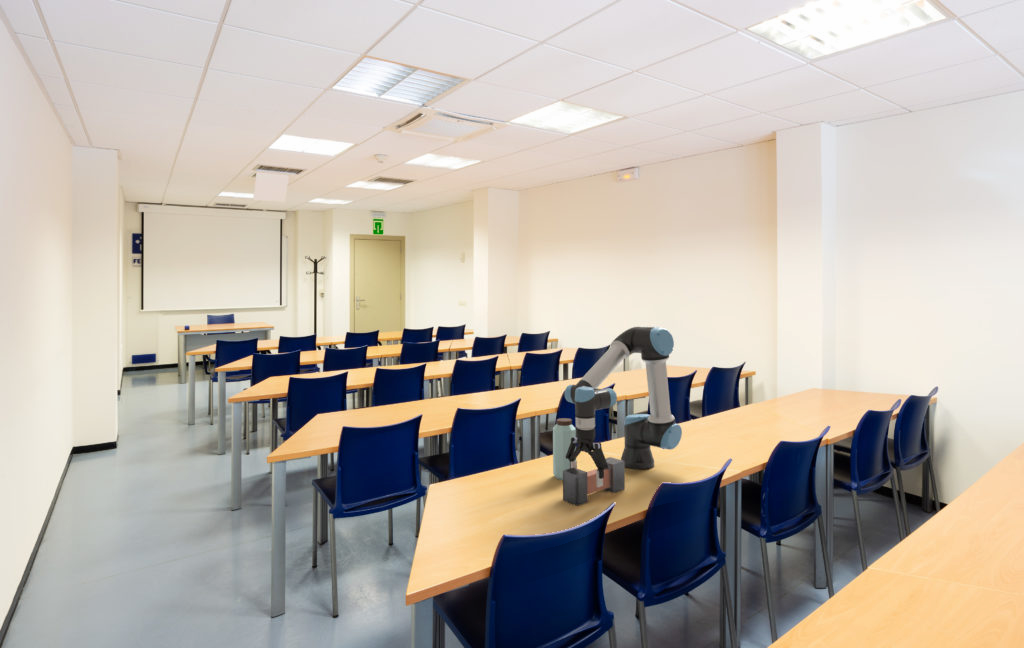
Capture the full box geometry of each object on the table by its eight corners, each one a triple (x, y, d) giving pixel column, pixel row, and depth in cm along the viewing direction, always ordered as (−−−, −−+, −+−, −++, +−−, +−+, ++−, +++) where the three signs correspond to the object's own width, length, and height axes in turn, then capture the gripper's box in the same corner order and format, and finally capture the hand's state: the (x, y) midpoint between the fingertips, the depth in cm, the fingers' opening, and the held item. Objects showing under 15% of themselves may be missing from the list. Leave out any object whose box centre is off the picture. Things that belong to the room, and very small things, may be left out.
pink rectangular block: (602, 484, 220) (602, 466, 220) (609, 487, 217) (609, 469, 217) (570, 494, 209) (570, 476, 208) (577, 497, 206) (577, 478, 205)
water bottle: (575, 481, 230) (574, 422, 229) (551, 480, 232) (551, 422, 231) (577, 474, 240) (576, 417, 239) (554, 472, 242) (554, 417, 241)
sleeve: (610, 484, 226) (610, 457, 225) (624, 489, 220) (624, 461, 219) (599, 488, 221) (598, 460, 221) (613, 493, 216) (612, 464, 215)
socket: (573, 496, 212) (573, 467, 212) (587, 502, 207) (587, 472, 206) (563, 500, 209) (562, 470, 208) (576, 505, 203) (576, 475, 202)
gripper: (556, 423, 218) (557, 476, 219) (603, 435, 198) (604, 492, 199) (569, 420, 222) (570, 471, 223) (617, 431, 203) (618, 487, 204)
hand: (586, 481), depth 211 cm, fingers open, 13 cm apart
